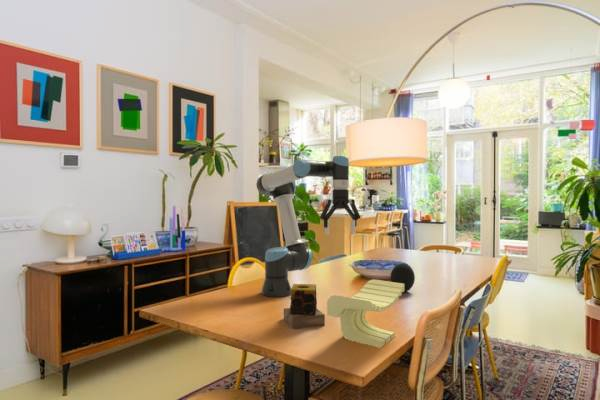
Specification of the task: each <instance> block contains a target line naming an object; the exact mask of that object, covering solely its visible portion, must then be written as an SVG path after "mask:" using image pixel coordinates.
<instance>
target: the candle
mask: <svg viewBox="0 0 600 400" xmlns="http://www.w3.org/2000/svg"><path fill="white" fill-rule="evenodd" d="M317 300H318V299H317V284H313V283H312V284H311V283H310V284H309V283H293V284H292V286H291V294H290V304H289V305H290V306H289V308H290V313H291V314H299V315H305V314H308V315H316V309H318V306H317V304H318V301H317Z"/></svg>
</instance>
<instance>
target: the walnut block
mask: <svg viewBox="0 0 600 400" xmlns="http://www.w3.org/2000/svg"><path fill="white" fill-rule="evenodd" d="M325 317H326V315H325V313H323V312H322V311H321V310H319V309H318V308H317V309H316V315H308V314H305V315H299V314H291V313H290V307H285V308H283V320H284V321H285V322H286V323H287V324H288V326H290V327H291V329H292V330H298V329H299V330H300V329H307V328H317V327H318V326H319V327H325V325H326V324H325V322H326V320H325Z"/></svg>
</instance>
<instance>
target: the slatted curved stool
mask: <svg viewBox="0 0 600 400" xmlns="http://www.w3.org/2000/svg"><path fill="white" fill-rule="evenodd" d="M403 293H405V292H404V284H403V283H396V282H391V281H386V280H381V279H373V278H372V279H370V280H368V281H366V282H365V284H364V285H363V286H362V287H361V289H360V290H358V292H357V293H356V294H354V295H353V296H351V297H349V296H342V295H337V294H333V295H331V296H330V297H329V298H328V299H327V303H326V316H329V317H333V318H336V319H337V318H338V319H340V329H341V330H340V331H341V333H342V336H343V337H344V339H346V340H347V339H348V340H347V341H350V340H352V341H351V342H354V341H356V342H355V343H358V342H360V343H359V344H362V343H364V344H363V345H366V344H369V345H368V346H370V345H373V346H372V347H374V346H377V347H376V348H378V347H381V348H382V346H383V345H384V344H385V343H386V344H388V343H389V342H391V340H390V339H392V340H394V338H396V334H395V332H394V331H390V330H386V329H382V328H380V327H377V326H373V325H372V324H371V323H369V322H368V321H367V319H366V312H368V311H369V312H370V311H371V312H378V313H382V312H384V311H385V310H387V309H389V308H391V307H392V306H394V305H395V304H396V303H397V301H399V299H400V297H402V294H403ZM387 342H388V343H387ZM386 344H385V345H386ZM385 345H384V346H385ZM384 346H383V347H384Z"/></svg>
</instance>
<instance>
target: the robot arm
mask: <svg viewBox="0 0 600 400" xmlns="http://www.w3.org/2000/svg"><path fill="white" fill-rule="evenodd" d="M349 161H350V159H349V157H348V156H346V155H334V156H333V157H332V159H331V161H329V160H328V161H327V160H326V161H324V160H308V159H296V160H295V161H294V163H293V165H290V166H287V167H284V168H282V169H280V170H278V171H275V172H272V173H268V172H267V173H265V174H262V175H260V176H259V177H258V178H257V180H256V184H255V185H256V189H257V192H259V193H260V194H261V195H263V196H266V197H272V198H273V201H274V202H275V203H276V204H277V209H278V214H279V217H280V222H281V226H282V232H283V236H284V240H285V245H284V246H279V247H278V246H275V247H272V248H271V247H270V248H268V249H267V250H266V251H265V253H264V254H265V257H264V267H265V268H264V271H265V272H264V273H265V275H264V276H265V279H264V281H263V285H262V288H261V295H262V296H264V297H271V298H279V297H280V298H281V297H287V296H291V288H292V286H291V285H290V281H289V278H288V277H289V272H294V271H302V270H305V269H308V268H309V267H310V266H311V265H312V262H313V252H312V250H311V249H310V248H309V247H307V246H306V242H305V241H303V240H302V237H301V233H300V228H299V224H298V220H297V216H296V211H295V207H294V203H293V199H294V197H295V193H296V190H297V184H296V182H295V181H297V180H301V179H304V178H306V177H307V178H308V177H316V178H317V177H319V178H329V177H331V178H332V198H330V199H329V198H328V199H326V201H325V206H324V207H323V210H322V211H321V214H320V216H319V219H320V220H323V227H324V229H325V233H324V234H325V235H326V236H330V220H329V219H330V218H331V216H332V215H333V214H334V213H335V211H336V210H337V209H338V210H340V209H341V210H345V211H346V213H347V214H348V215H349V216H350V218H351V219H350V234H353V235H355V234H356V227H357V223H358V222H357V221H358V219H361V215H360V213H359V211H358V208H357V206H356V204H355V199H354V198H353V199H352V198H350V199H349V195H350V194H349V178H350V176H349V174H350V173H349V171H350V162H349ZM331 204H332V206H331ZM348 204H349V205H350V206H349V205H348Z"/></svg>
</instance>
